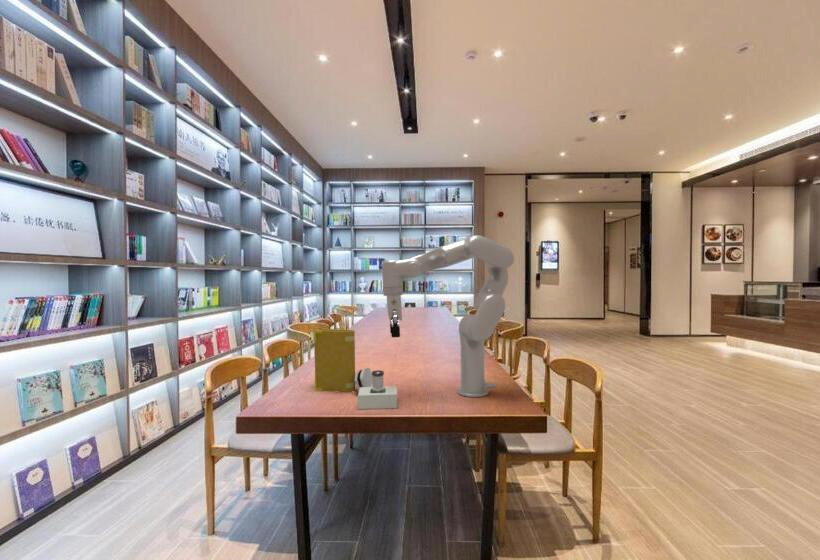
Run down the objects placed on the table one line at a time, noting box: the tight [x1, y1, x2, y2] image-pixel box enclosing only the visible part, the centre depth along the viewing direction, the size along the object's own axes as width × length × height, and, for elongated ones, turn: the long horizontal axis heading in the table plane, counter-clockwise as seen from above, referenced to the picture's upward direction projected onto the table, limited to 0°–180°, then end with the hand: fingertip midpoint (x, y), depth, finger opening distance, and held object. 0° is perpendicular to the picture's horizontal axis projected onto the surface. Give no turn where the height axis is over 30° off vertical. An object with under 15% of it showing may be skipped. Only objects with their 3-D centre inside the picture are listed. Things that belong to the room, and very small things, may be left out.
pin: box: [371, 369, 385, 393], centre depth 141 cm, size 4×4×12 cm
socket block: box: [357, 385, 398, 410], centre depth 141 cm, size 14×10×5 cm
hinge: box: [355, 367, 373, 394], centre depth 158 cm, size 17×5×10 cm, turn 175°
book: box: [313, 328, 356, 393], centre depth 160 cm, size 17×7×25 cm, turn 71°
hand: (395, 335), depth 148 cm, fingers open, 9 cm apart
